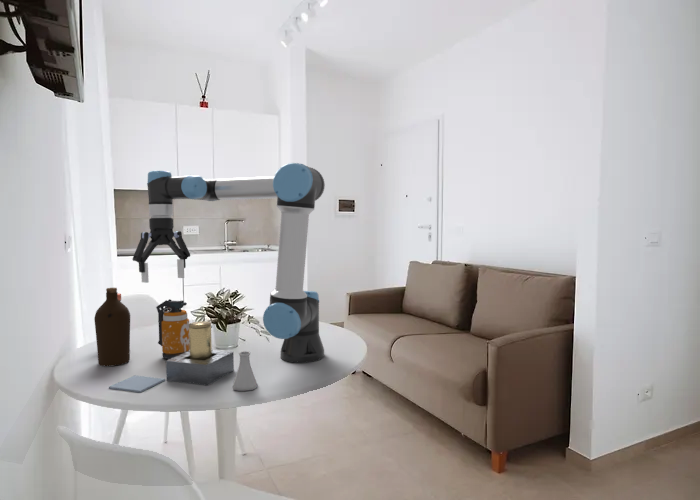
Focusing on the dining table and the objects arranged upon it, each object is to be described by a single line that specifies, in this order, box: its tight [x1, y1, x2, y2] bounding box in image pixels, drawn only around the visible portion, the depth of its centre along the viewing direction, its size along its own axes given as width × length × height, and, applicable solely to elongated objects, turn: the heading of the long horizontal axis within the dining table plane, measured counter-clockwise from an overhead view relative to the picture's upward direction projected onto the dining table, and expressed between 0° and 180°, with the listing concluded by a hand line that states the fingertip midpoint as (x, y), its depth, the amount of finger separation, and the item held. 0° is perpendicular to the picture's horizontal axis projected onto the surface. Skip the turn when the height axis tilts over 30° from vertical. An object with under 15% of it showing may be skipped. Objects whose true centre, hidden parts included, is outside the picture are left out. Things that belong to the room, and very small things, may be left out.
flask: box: [232, 350, 259, 392], centre depth 130 cm, size 7×7×10 cm
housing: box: [165, 349, 235, 386], centre depth 140 cm, size 14×14×6 cm
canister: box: [155, 298, 190, 360], centre depth 159 cm, size 9×11×20 cm
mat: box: [108, 374, 166, 393], centre depth 133 cm, size 11×10×1 cm
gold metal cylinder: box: [189, 320, 213, 361], centre depth 140 cm, size 6×6×16 cm
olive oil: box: [93, 287, 131, 367], centre depth 153 cm, size 11×11×25 cm
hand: (163, 280), depth 156 cm, fingers open, 13 cm apart
